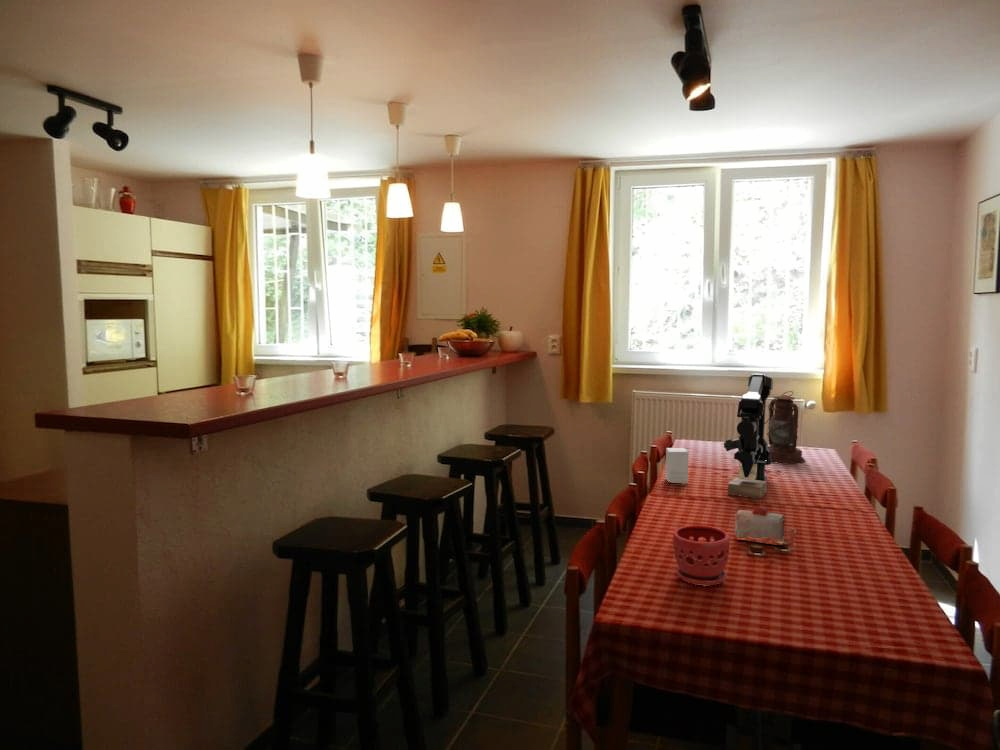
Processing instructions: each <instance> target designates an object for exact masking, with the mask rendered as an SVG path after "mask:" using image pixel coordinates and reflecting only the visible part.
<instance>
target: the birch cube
mask: <svg viewBox="0 0 1000 750" xmlns="http://www.w3.org/2000/svg"><path fill="white" fill-rule="evenodd" d="M738 474H739V475H738V478H739V479H743V480H751V481H754V480H755V479H756V478H757V464H753V467H752V469H751V471H750V474H749V476H748V477H745V476H744V472H743V468H742V464H739V467H738Z"/></svg>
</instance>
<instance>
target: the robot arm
mask: <svg viewBox="0 0 1000 750" xmlns="http://www.w3.org/2000/svg"><path fill="white" fill-rule="evenodd" d="M747 387H748V389H747V393H744V394H742V396H741V398H740V399H739V401H738V407H737V412H736V413H737V414H736V417H737V418H741V421H740V422H739V423H738V424H737V426H736V431H737V434H738V435H739V436H738V438H734V439H731V438H729V439H726V440H725V441H724V442H723V448H724V449H725V452H729V451H732V450H736V449H737V451H736V452H734V453H733V454H734V456H733V459H734V460H737V461H738V462H739V463H741V464H742V468H743V472H744V476H745V477H748V476H749V474H750V471H751V469H752V467H753V464H757V478H756V479H755V480H761V481H764V480H765V481H766V480H767V478H768V476H766V466H769V465H772V463H771V453H770V452H769V450H768V446H769V445H768V444H769V443H767V440H766V439H765V425H766V424H765V422H766V407H767V406H766V405H767V400H768V398H769V397H770V395H771V391H772V390H773V388H774V380H773V378H771V377H770V376H767V374H763V373H751V375H750V376H748V383H747ZM765 460H767V461H765Z"/></svg>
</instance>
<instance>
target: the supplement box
mask: <svg viewBox="0 0 1000 750" xmlns="http://www.w3.org/2000/svg"><path fill="white" fill-rule="evenodd" d="M688 474H689V451H688V450H687V449H686V447H685V448H684V447H683V448H682V447H666V448H665V480H666V479H667V481H668V482H672V483H688V479H689V475H688ZM667 481H666V482H667ZM668 482H667V483H668Z"/></svg>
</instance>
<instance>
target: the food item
mask: <svg viewBox="0 0 1000 750" xmlns="http://www.w3.org/2000/svg"><path fill="white" fill-rule="evenodd" d="M785 517H786V515H785V514H781V513H773V512H769V511H768V510H767V509H766V508H764V507H763V506H762V505H760V506H759V507H758V506H756V507H755V506H754V507H752V510H749V509H747V510H746V509H745V510H744V509H739V510H737V512H735V515H734V518H735V519H734V522H735V523H734V533H735V538H736V537H738V538H745V537H747V536H750V537H756V538H762V537H771V538H775V539H783V536H784V534H785V524H786V523H785V522H786V518H785Z"/></svg>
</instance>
